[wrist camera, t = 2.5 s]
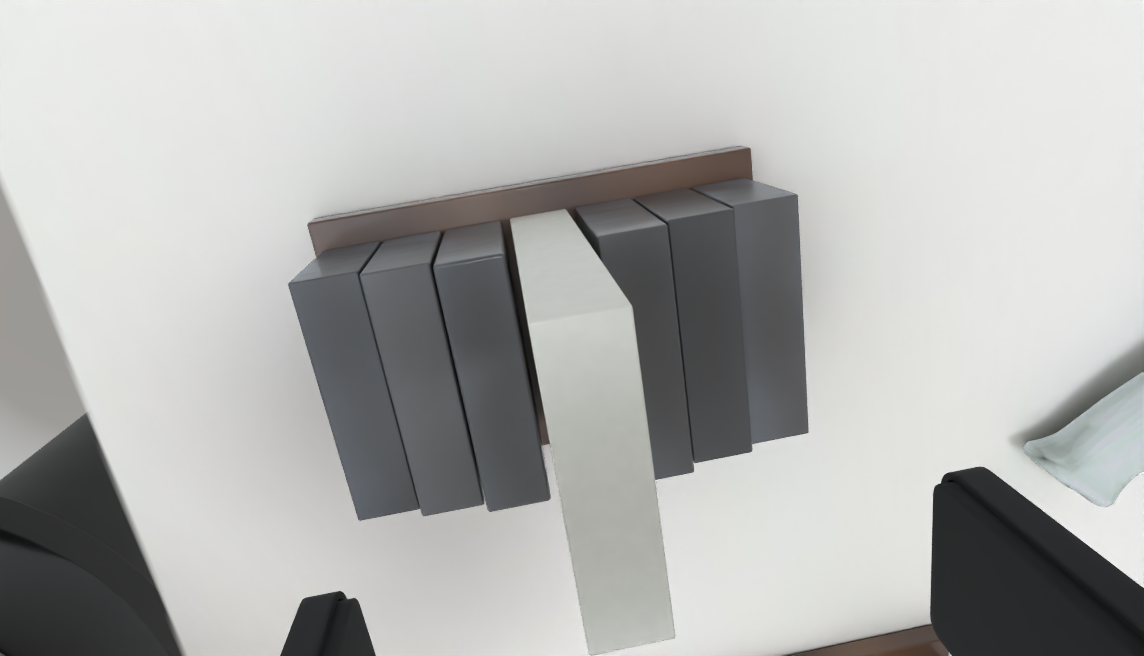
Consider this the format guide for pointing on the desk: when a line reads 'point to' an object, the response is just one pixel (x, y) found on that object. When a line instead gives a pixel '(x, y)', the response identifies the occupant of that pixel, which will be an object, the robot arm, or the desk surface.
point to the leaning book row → (889, 645)
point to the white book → (596, 432)
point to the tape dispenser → (1098, 446)
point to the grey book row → (502, 340)
